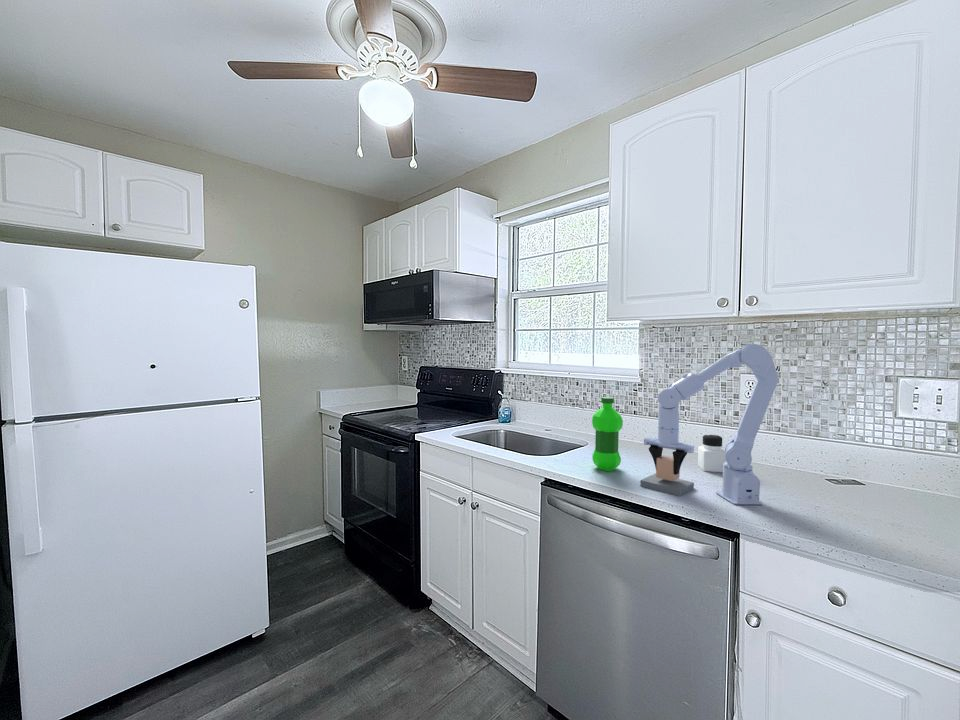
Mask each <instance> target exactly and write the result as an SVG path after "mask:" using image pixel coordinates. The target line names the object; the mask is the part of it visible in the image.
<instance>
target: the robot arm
mask: <svg viewBox="0 0 960 720" xmlns="http://www.w3.org/2000/svg"><path fill="white" fill-rule="evenodd" d="M773 359H774V358H773V356H772V355H771V353H770V352H769V351H768V350H767V348H765V346H762V344H761V345H760V344H757V343H750V344H749V343H748V344H746V345H744V346H743V347H742V348H739V349H736V350H734V351H731V352H729V353H728V354H727V353H726V355H724V356H722V357H721V358H719V359H718V360H717V361H715V362H713V363H712V364H711V365H709V366H707V367H706V368H704V369H703V370H702V371H700V372H699V373H694V372H690V373H688V374H687V373H685V374H683V375H682V378H680V379H679V380H678V381H676V382H674V383H670V384H668V387H667V388H664V389H662V390H661V391H660V393H659V394H658V397H657V400H658V401H657V402H658V404H659V406H658V425H657V438H651V437H644V438H643V446H644V445H645V446H649V447H648V451H649V453H650V455H651V457H652V460H653V463H654V467H655V469H656V464H657V458H658V457H661V456H663V452H664V451H663V449H668V450H675V451H672V457H673V459H674V474H675V475H677V474H679V470H680V471H681V466H682V464H683V462H684V459H685V458H686V456H687V454H693V453H695V446H694V445H691V444H688V443H687V444H686V443H684V442H679V438H680V437H679V434H680V433H679V430H680V429H679V428H680V413H679V403H680V402H681V401H686V400H688V399H689V398H691V397H693V396H694V395H696V394H698V393H700V392H701V391H702V390H704V386H705V383H706V382H707V381H711V380H712V379H713V378H715V377H717V376H718V375H720V374H722V373H723V372H725V371H727V370H729V369H731V368H732V369H733V368H741V367H743V365H742V363H743V364H744V365H745V366H746V367H747V368H748V369H750V371H751V372H752V374H753V375H754V377H755V379H756V382H755V385H754V387H753V389H752V391H751V394H750V397H749V399H748V401H747V403H746V408H745V409H744V411H743V412H744V413H743V415H742V417H741V420H740V423H739V425H738V428H737V430H736V432H735V434H734V435H733V438H732V440H730V441H729V442H728V443H727V444H726V445H725V448H724V451H725V453H726V455H725V459H726V462H724V463H723V472H722V484H721V485H722V489H721V490H715V494H717V495H719V496H720V497H722V498H724V500H726V501H727V502H729V503H731V504H733V505H763V502H762V501H760V492H761V491H760V488H761V487H760V486H761V482H760V481H761V480H760V478H759V477H758V476H757V475H755V473H754V470H753V466H752V460H753V457H752V450H753V448H754V444H755V439H756V437H757V435H758V433H759V429H760V427H761V425H762V423H763V420H764V418H765V415H766V411H767V409H768V407H769V406H770V405H769V404H770V402H771V400H772V398H773V395H774V392H775V390H776V389H777V388H776V387H777V385H778V383H779V374H778V372H777V368H776V366H775V362H774V360H773Z"/></svg>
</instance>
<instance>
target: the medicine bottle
mask: <svg viewBox="0 0 960 720" xmlns="http://www.w3.org/2000/svg"><path fill="white" fill-rule="evenodd" d="M697 453H698V454H697V466H698V467H699V468H700V469H701V470H702V471H703V472H711V473H723V463H724V462H726V459H725V455H726V453H725V449H723V437H722V436H720V435H719V434H710V433H709V434H704V435H703V436H702V445H701V446H698V450H697Z"/></svg>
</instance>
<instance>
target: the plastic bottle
mask: <svg viewBox="0 0 960 720" xmlns="http://www.w3.org/2000/svg"><path fill="white" fill-rule="evenodd" d="M600 400H601V402H600V403H601V404H602V407H601V408H599V409H598V410H597V411H596V412H595V413H593V415H592V418H591V420H592V421H591V423H592V427H593V429H594V430H595V436H594V437H595V438H594V439H595V448H594V450H593V452H592V462H593V464H594V465H595V466H596V467H597V468H598V470H600V471H605V472H612V471H614V470H615V469H617V468H618V467H619V466H620V464H621V462H622V458H621V455H620V452H619V432H620V430H621V429H623V424H624V423H623V421H624V420H623V418H622V416H621V415H620V413H619V412H618V411H617V410H615V408H613V404H614V403H615V397H612V396H601V399H600Z"/></svg>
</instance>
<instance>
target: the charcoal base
mask: <svg viewBox="0 0 960 720" xmlns="http://www.w3.org/2000/svg"><path fill="white" fill-rule="evenodd" d="M694 486H695V482H693V481H689V480H685V479H680V478H678V479H676V480H674V481H670V480H665V479H661V478H657V477H656V473H653V474H651V475H649V476H647V477H644V478H642V479H641V480H640V487H643V488H647V489H650V490H651V489H652V490H655V491H659V492H662V493H667V494H670V495H674V496H678V497H681V496H683V495H685V494H687V493H688V492H690V491H691V490H694Z"/></svg>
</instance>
